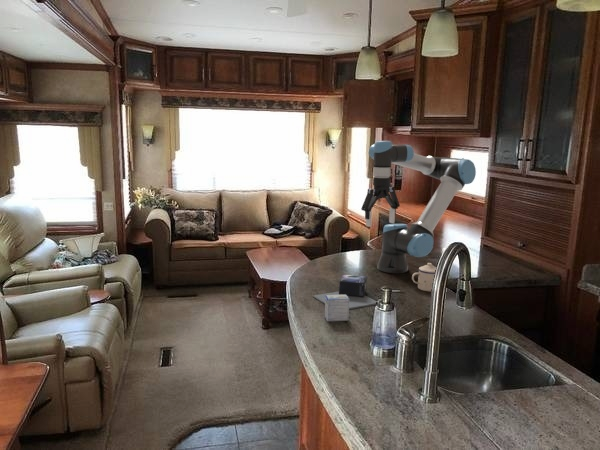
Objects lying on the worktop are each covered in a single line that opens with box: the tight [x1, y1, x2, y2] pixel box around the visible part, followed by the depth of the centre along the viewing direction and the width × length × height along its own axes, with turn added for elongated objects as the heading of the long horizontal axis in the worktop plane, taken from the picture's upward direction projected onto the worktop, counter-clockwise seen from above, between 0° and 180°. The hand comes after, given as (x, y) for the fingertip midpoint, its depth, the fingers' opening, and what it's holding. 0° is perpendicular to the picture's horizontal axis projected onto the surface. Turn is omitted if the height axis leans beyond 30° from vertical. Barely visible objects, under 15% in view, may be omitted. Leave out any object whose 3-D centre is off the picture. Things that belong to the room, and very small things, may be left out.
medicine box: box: [324, 295, 350, 322], centre depth 172 cm, size 8×4×9 cm, turn 100°
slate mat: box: [312, 290, 378, 310], centre depth 193 cm, size 20×18×1 cm
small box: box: [338, 274, 368, 297], centre depth 200 cm, size 11×6×10 cm
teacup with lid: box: [411, 262, 437, 292], centre depth 209 cm, size 12×9×12 cm
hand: (380, 224), depth 212 cm, fingers open, 13 cm apart
